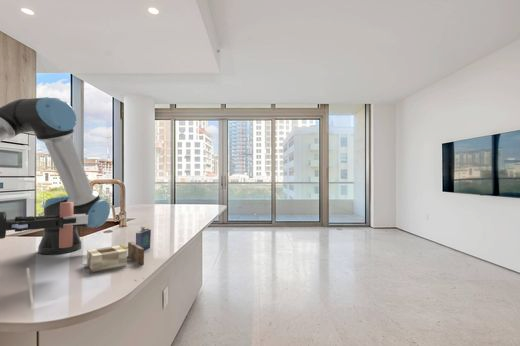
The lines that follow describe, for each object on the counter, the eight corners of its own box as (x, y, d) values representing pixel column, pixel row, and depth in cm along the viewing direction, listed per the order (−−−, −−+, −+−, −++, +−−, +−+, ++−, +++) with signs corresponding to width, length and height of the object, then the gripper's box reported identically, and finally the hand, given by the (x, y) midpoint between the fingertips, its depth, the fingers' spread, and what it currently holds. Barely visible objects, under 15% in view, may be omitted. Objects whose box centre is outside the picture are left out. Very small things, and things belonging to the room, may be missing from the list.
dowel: (58, 246, 85) (59, 202, 86) (71, 244, 88) (72, 202, 88) (59, 248, 83) (60, 203, 83) (73, 246, 85) (74, 202, 86)
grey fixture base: (82, 267, 94) (82, 248, 94) (131, 258, 105) (131, 241, 105) (90, 278, 84) (91, 257, 84) (143, 267, 95) (144, 248, 95)
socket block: (86, 264, 93) (87, 250, 94) (118, 258, 100) (118, 245, 100) (92, 271, 86) (93, 256, 86) (126, 265, 93) (126, 250, 93)
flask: (139, 254, 110) (140, 228, 110) (132, 254, 110) (133, 228, 111) (151, 249, 119) (152, 225, 119) (145, 248, 120) (146, 224, 120)
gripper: (-12, 235, 79) (81, 226, 95) (-18, 245, 67) (91, 233, 83) (-11, 210, 80) (82, 205, 95) (-17, 215, 67) (91, 209, 83)
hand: (86, 218), depth 89 cm, fingers closed on dowel, 3 cm apart
